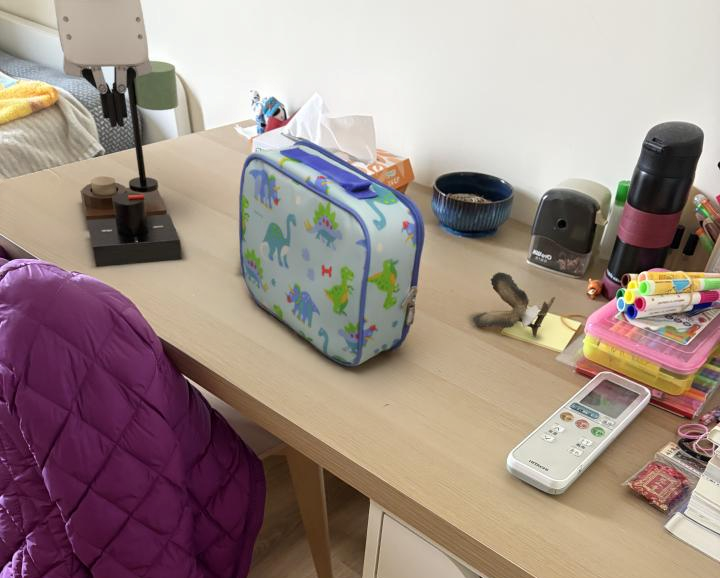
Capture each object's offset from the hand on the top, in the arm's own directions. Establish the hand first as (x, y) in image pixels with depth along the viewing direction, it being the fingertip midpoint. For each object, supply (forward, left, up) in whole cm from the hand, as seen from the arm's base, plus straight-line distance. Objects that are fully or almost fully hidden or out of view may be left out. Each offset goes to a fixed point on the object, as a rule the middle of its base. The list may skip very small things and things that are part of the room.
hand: (116, 123), depth 95 cm
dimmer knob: (0, -1, -14) cm, 14 cm away
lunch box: (+20, -28, -17) cm, 39 cm away
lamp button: (-2, +12, -14) cm, 18 cm away
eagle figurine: (+45, -34, -17) cm, 59 cm away
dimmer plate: (0, -1, -17) cm, 17 cm away
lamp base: (0, +12, -17) cm, 21 cm away
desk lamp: (+6, +12, -13) cm, 19 cm away
